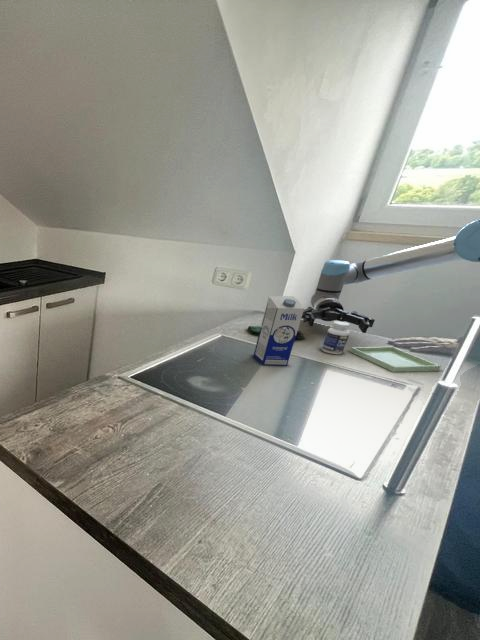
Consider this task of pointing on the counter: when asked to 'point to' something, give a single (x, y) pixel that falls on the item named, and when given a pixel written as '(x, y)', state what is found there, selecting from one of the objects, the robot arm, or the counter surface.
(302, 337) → the gun
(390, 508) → the counter surface
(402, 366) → the tray
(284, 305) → the milk carton
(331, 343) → the pill bottle
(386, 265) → the robot arm
